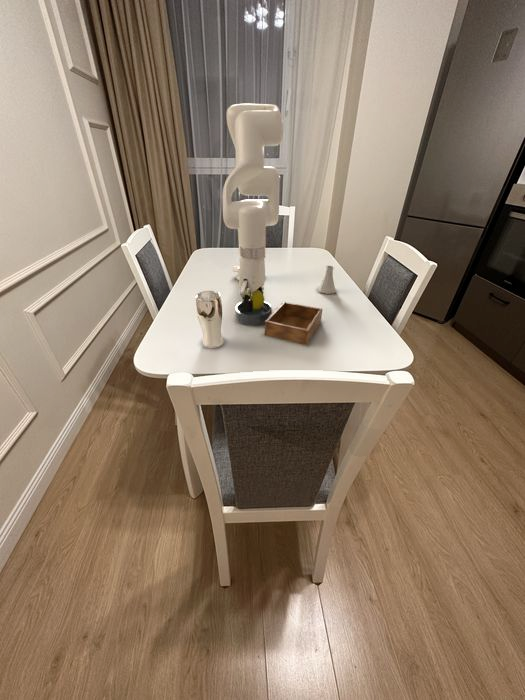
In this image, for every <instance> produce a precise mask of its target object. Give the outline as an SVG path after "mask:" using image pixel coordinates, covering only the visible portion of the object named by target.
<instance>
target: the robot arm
mask: <svg viewBox="0 0 525 700" xmlns="http://www.w3.org/2000/svg"><path fill="white" fill-rule="evenodd" d="M283 121H284V120H283V115H282V113H281V111H280V108H279V106H278V105H276V104H271V103H270V104H269V103H266V104H265V103H237V104H232V105H230V106H229V107H228V108H227V110H226V124H227V128H228V132H229V135H230V137H231V141H232V144H233V146H234V150H235V167H234V168H233V169H232V171H230V172H229V175H228V176H227V177H226V180H225V182H224V184H223V187H222V199H221V200H222V219H223V223H224V225H225V226H226V227H227V228H228V229H230V230H237V235H238V236H237V239H238V260H239V262H238V264H239V266H236V265H233V266H232V272H233V273H236V280H237V281H238V289H239V295H240V297H241V300H242V302H243V310H244V311H248V312H253V300H252V295H253V292H254V291H256V290H259V291H261V292H262V294H263V295H264V291H265V290H264V289H265V287H264V285H265V283H266V263H265V261H266V260H265V258H266V249H267V248H266V247H267V246H266V244H267V243H266V240H267V239H266V237H267V234H266V233H267V232H266V231H267V227H271V226H276V225H277V224H278V221H279V217H280V216H279V215H280V188H281V187H280V186H281V185H280V184H281V183H280V182H281V181H280V173H279V171H278V169H277V168H276V167H273V166H265V154H264V152H265V151H264V149H265V148H264V147H276V146H279V145H280V144H281V143H282V141H283V137H284V122H283ZM237 189H238V192H239V193H240V195H243V196H248V197H266V198H267V199H242V200H238V201H237V200H236V201H233V200H232V199H233V198H232V197H233V193H234V192H235V190H237ZM247 292H249V293H250V294H249V296H248V295H247V294H246V293H247Z"/></svg>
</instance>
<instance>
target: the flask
mask: <svg viewBox="0 0 525 700" xmlns="http://www.w3.org/2000/svg"><path fill="white" fill-rule="evenodd" d="M334 269H335V266H333V265H326V266H325V273H324V276H323V278H322V280H321V281H320V284H319V286H318V288H317V291H318V292H319V293H321V294H327V295H328V294H330V295H331V294H334V293H336V287H335V282H334V275H333V274H334V273H333V271H334Z"/></svg>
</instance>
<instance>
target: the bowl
mask: <svg viewBox="0 0 525 700" xmlns="http://www.w3.org/2000/svg"><path fill="white" fill-rule="evenodd" d="M234 310H235V311H234V312H235V320H236V321H237V322H238V323H239V324H242V325H246V326H252V327H254V326H261V325H265V321H266V320H267V319H268V318H269V316H270V315H271V314H272V313H273V306H272V304H271V303H269V302H268V301H265V300H264V305H263V306H262V308H260V309H259V310H256V311H253V312H248V311H244V310H243V301H240V302H238V303H237V304H236V305H235V307H234Z"/></svg>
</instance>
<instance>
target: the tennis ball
mask: <svg viewBox="0 0 525 700" xmlns="http://www.w3.org/2000/svg"><path fill="white" fill-rule="evenodd" d="M246 294H247V295H248V296H249V294H250V293H249V292H247V293H246ZM252 300H253V311H256V310H259V309H260V308H262V306H263V305H264V301H265V296H264V293H263V294H262V292H261V291H259V290H256V291H254V292H253V295H252Z"/></svg>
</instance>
